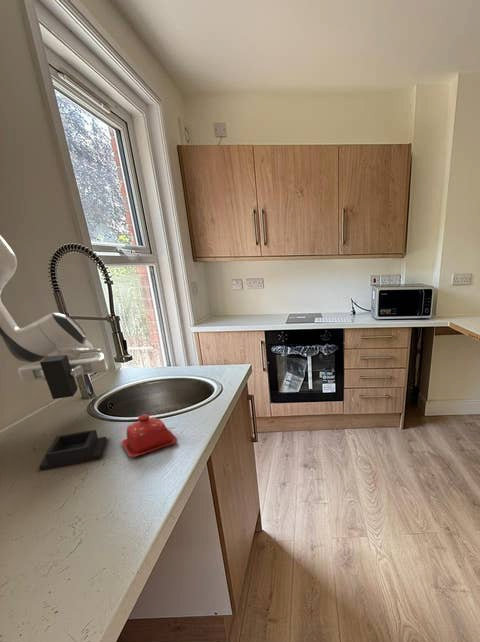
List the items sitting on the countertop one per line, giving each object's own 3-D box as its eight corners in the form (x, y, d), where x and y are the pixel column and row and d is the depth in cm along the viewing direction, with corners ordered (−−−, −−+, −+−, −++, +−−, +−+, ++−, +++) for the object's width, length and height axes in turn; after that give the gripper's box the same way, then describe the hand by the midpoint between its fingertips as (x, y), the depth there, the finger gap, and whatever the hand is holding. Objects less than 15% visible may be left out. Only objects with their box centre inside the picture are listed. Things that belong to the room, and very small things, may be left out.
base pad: (41, 471, 80) (35, 457, 78) (53, 451, 88) (48, 437, 87) (100, 460, 84) (96, 445, 82) (107, 441, 93) (103, 428, 91)
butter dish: (121, 444, 91) (112, 415, 88) (166, 430, 98) (160, 402, 94) (131, 462, 83) (122, 430, 79) (180, 446, 89) (174, 416, 86)
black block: (52, 399, 91) (39, 362, 87) (59, 391, 96) (46, 356, 92) (73, 396, 92) (61, 360, 88) (78, 389, 97) (66, 354, 94)
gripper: (24, 356, 98) (4, 369, 86) (106, 347, 105) (99, 359, 93) (32, 377, 101) (14, 393, 89) (112, 367, 108) (105, 381, 96)
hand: (58, 375), depth 91 cm, fingers closed on black block, 4 cm apart
